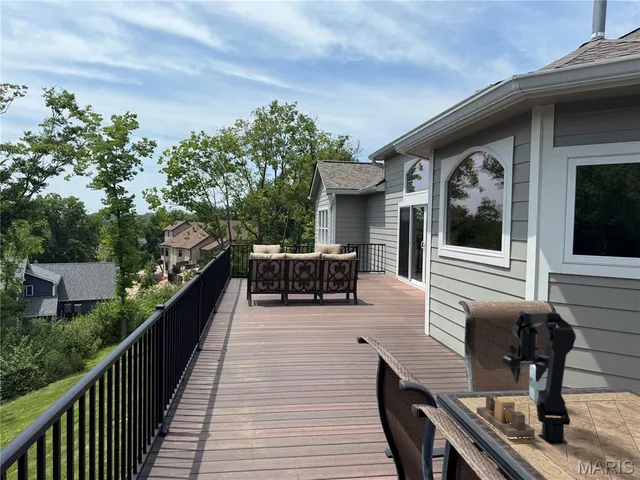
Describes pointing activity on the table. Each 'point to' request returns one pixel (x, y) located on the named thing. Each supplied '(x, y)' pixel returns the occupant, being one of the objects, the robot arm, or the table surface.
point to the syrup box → (536, 383)
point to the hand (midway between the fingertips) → (526, 382)
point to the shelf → (510, 430)
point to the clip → (499, 409)
